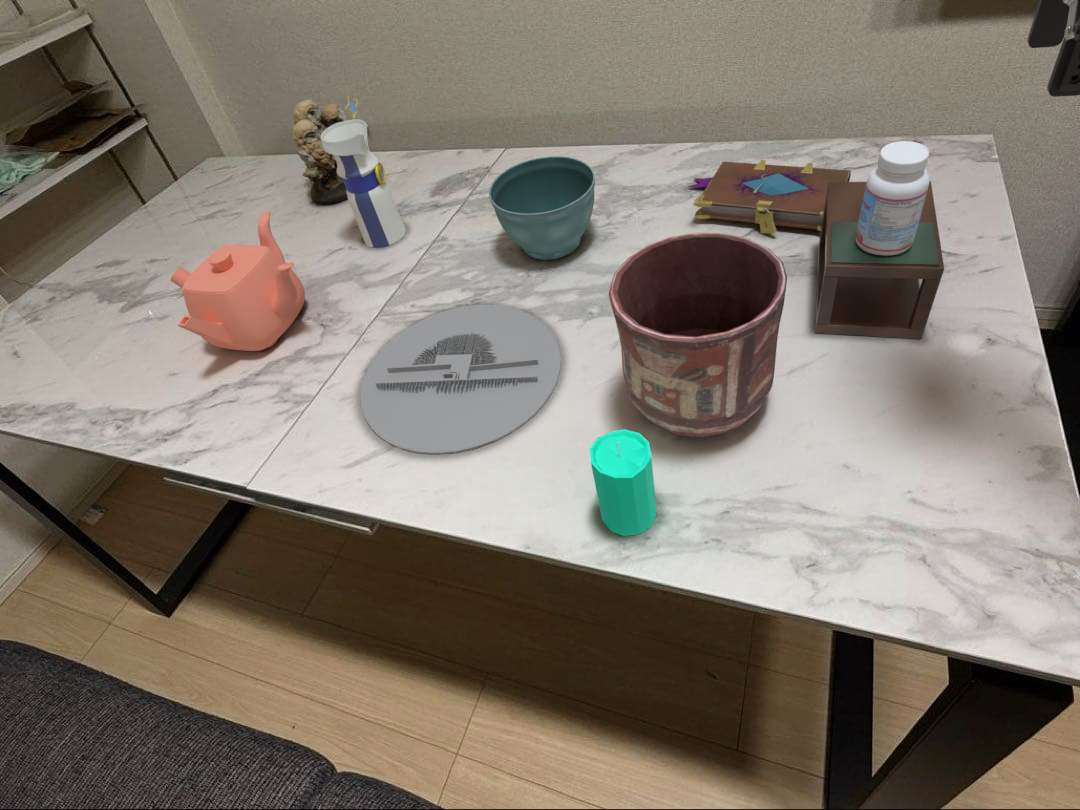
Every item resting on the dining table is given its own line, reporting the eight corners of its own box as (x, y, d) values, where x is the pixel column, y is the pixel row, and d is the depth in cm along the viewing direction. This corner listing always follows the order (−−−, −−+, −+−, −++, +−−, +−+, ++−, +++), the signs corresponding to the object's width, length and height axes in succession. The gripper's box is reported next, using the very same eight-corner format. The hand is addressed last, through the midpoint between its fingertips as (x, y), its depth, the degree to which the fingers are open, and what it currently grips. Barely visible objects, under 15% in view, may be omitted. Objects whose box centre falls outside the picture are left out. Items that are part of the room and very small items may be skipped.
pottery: (629, 349, 88) (617, 234, 75) (769, 347, 84) (781, 225, 71) (617, 456, 77) (600, 342, 64) (778, 460, 73) (795, 339, 60)
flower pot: (618, 221, 109) (611, 159, 101) (576, 282, 100) (565, 219, 92) (532, 210, 116) (520, 152, 108) (486, 266, 107) (469, 206, 99)
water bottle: (411, 217, 121) (360, 77, 103) (404, 244, 116) (349, 101, 98) (368, 224, 123) (311, 86, 104) (359, 251, 117) (296, 110, 99)
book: (697, 177, 115) (697, 149, 111) (851, 189, 105) (856, 159, 101) (665, 226, 105) (664, 197, 102) (830, 245, 95) (836, 213, 92)
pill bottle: (861, 224, 80) (879, 134, 72) (917, 232, 77) (943, 139, 69) (848, 253, 77) (865, 163, 69) (906, 262, 74) (931, 169, 66)
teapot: (304, 275, 115) (266, 205, 105) (331, 331, 103) (291, 257, 93) (202, 320, 111) (152, 251, 101) (217, 384, 99) (163, 313, 89)
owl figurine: (350, 208, 128) (312, 122, 115) (298, 209, 131) (256, 125, 119) (386, 160, 139) (355, 76, 127) (338, 162, 143) (303, 81, 130)
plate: (333, 454, 85) (329, 448, 84) (393, 310, 103) (391, 304, 102) (546, 454, 79) (544, 448, 78) (571, 301, 97) (570, 295, 96)
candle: (596, 532, 71) (581, 465, 62) (605, 486, 74) (593, 416, 66) (653, 539, 69) (646, 470, 60) (660, 491, 73) (654, 420, 64)
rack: (911, 250, 91) (931, 179, 84) (921, 339, 80) (945, 267, 73) (818, 248, 95) (828, 180, 87) (815, 333, 84) (826, 264, 76)
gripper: (1296, -227, 32) (1142, 109, 43) (1200, -261, 41) (1093, 26, 52) (1104, -193, 34) (1007, 116, 46) (1053, -232, 43) (982, 35, 55)
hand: (1053, 68), depth 49 cm, fingers open, 8 cm apart
